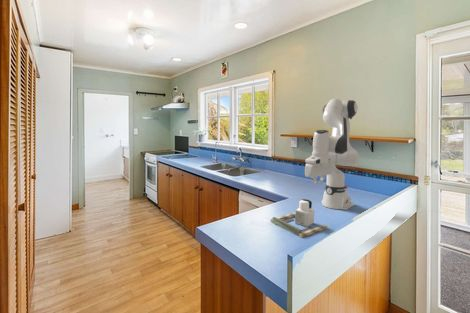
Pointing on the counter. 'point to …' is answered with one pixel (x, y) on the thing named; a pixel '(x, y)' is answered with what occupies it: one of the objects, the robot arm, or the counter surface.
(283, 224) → the tan flat bar frame
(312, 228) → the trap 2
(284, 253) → the counter surface
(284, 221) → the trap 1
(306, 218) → the container
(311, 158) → the robot arm
